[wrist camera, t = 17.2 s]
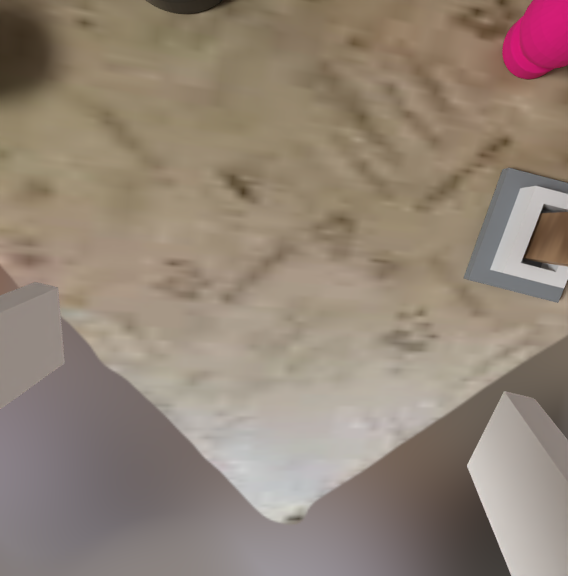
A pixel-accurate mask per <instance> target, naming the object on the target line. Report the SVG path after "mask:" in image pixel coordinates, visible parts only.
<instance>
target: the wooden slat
mask: <svg viewBox="0 0 568 576" xmlns="http://www.w3.org/2000/svg"><path fill="white" fill-rule="evenodd" d="M523 258H524V259H528V260H531V261H535V262H541V263H548V264H554V265H560V266H567V267H568V212H557V213H540V215H539V218H538V220H537V223H536V225H535V228H534V231H533V233H532V236H531V238H530V241H529V243H528V246H527V249H526V251H525V254H524V256H523Z"/></svg>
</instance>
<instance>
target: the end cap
mask: <svg viewBox="0 0 568 576" xmlns="http://www.w3.org/2000/svg"><path fill="white" fill-rule="evenodd" d="M557 212H568V183H566V182H562V181H558V180H554V179H550V178H546V177H542V176H539V175H535V174H531V173H527V172H523V171H519V170H515V169H512V168H506V169H503V170H502V173H501V175H500V178H499V181H498V184H497V186H496V189H495V192H494V195H493V198H492V200H491V203H490V206H489V209H488V212H487V214H486V217H485V220H484V223H483V225H482V228H481V231H480V234H479V237H478V239H477V242H476V245H475V248H474V251H473V253H472V256H471V259H470V262H469V264H468V267H467V270H466V273H465V276H464V278H465V279H468V280H471V281H475V282H479V283H483V284H487V285H491V286H495V287H499V288H502V289H506V290H510V291H514V292H518V293H522V294H526V295H530V296H534V297H538V298H541V299H545V300H549V301H553V302H557V303H558V302H559V299H560V297H561V295H562V292H563V290H564V287H565V285H566V283H567V280H568V267H567V266H560V265H554V264H548V263H541V262H535V261H531V260H528V259H524V258H523V256H524V254H525V251H526V249H527V246H528V243H529V241H530V238H531V236H532V233H533V231H534V228H535V225H536V223H537V220H538V218H539V215H540V213H557Z"/></svg>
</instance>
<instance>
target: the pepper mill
mask: <svg viewBox="0 0 568 576" xmlns="http://www.w3.org/2000/svg"><path fill="white" fill-rule="evenodd" d="M503 59H504V63H505V65H506V67H507V68H508V70H509V71H510V72H511V73H512V74H514V75H515V76H517V77H520V78H523V79H534V78H538V77H540V76H542V75H544V74H546V73H548V72H549V71H551V70H552V69H554V68H561V67H564V66H567V65H568V0H533V1H532V2H531V4H530V5H529V7H528V8H527V10H526V12H525V14H524V16H523V17H521V18H520V19H519V20H518V21H517V22H516V23H515V24H514V25H513V26H512V27H511V28H510V30H509V31H508V33H507V35H506V37H505V40H504V44H503Z"/></svg>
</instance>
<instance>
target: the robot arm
mask: <svg viewBox="0 0 568 576" xmlns="http://www.w3.org/2000/svg"><path fill="white" fill-rule="evenodd" d="M146 1H148V2H149V3H151V4H152V5H154V6H156V7H158V8H160V9H163V10H165V11H169V12H173V13H180V14H189V13H196V12H200V11H204V10H206V9H209V8H211V7H213V6H215V5H217V4H218V3H220V2H221V1H222V0H146ZM64 363H65V362H64V350H63V339H62V328H61V316H60V304H59V293H58V287H55V286H50V285H46V284H42V283H37V282H34V283H31V284H29V285H26V286H24V287H21V288H19V289H16V290H14V291H11V292H8V293H6V294H3V295H1V296H0V409H1V408H3V407H4V406H6V405H7V404H8V403H10V402H11V401H12V400H14V399H15V398H17V397H18V396H19V395H21V394H22V393H24V392H25V391H26V390H28V389H29V388H30V387H32V386H33V385H35V384H36V383H37V382H39V381H40V380H42V379H43V378H44V377H46V376H47V375H49V374H50V373H51V372H53V371H54V370H56V369H57V368H58V367H59V366H61V365H63V364H64ZM467 467H468V469H469V472H470V474H471V477H472V479H473V482H474V484H475V487H476V489H477V492H478V494H479V497H480V499H481V502H482V504H483V507H484V509H485V511H486V514H487V516H488V519H489V521H490V524H491V526H492V529H493V531H494V533H495V536H496V539H497V541H498V544H499V546H500V549H501V551H502V554H503V556H504V558H505V561H506V564H507V566H508V568H509V571H510V573H511V576H568V440H567V439H566V437H565V436H564V435H563V434H562V433H561V431H560V430H559V429H558V427H557V426H556V425H555V424H554V422H553V421H552V420H551V419H550V417H549V416H548V415H547V414H546V413H545V411H544V410H543V409H542V408H541V406H540V405H539V404H538V403H537V401H536V400H535V399H534V398H531V397H527V396H523V395H518V394H514V393H510V392H506V391H504V393H503V395H502V397H501V399H500V401H499V403H498V405H497V407H496V409H495V411H494V413H493V415H492V417H491V419H490V421H489V423H488V425H487V427H486V429H485V431H484V433H483V435H482V437H481V439H480V441H479V443H478V445H477V447H476V449H475V451H474V453H473V455H472V457H471V459H470V461H469V463H468V465H467Z"/></svg>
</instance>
